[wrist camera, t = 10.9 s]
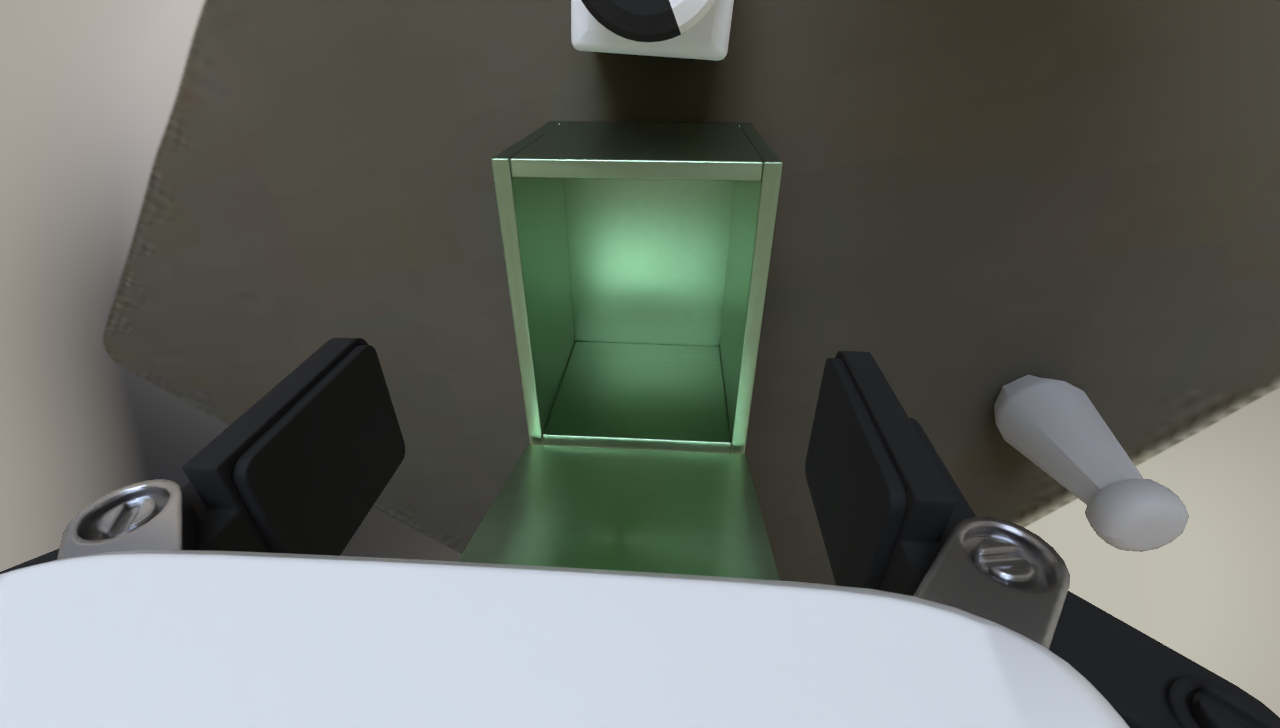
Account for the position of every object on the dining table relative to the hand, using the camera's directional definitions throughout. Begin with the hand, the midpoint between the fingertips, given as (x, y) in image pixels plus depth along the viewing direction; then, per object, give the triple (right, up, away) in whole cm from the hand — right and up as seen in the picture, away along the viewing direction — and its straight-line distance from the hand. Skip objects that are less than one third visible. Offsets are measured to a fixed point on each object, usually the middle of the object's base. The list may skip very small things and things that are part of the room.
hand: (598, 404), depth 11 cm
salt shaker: (+30, -2, +29) cm, 42 cm away
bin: (+1, +9, +25) cm, 27 cm away
